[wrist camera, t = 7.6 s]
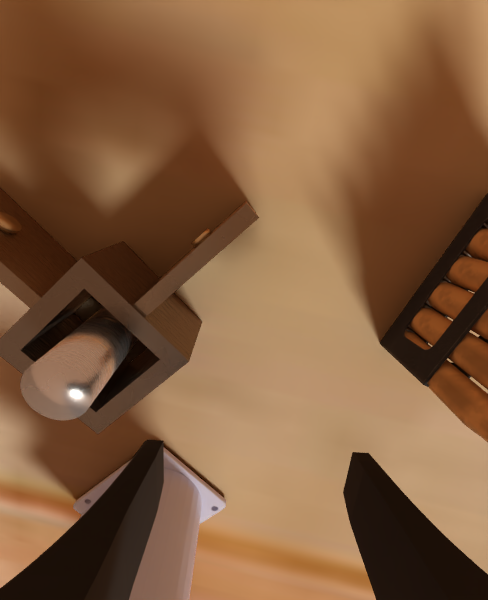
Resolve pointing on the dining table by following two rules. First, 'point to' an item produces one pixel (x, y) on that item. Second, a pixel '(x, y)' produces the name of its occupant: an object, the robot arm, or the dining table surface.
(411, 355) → the ammunition clip
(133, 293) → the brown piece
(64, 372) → the pin
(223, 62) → the dining table surface
